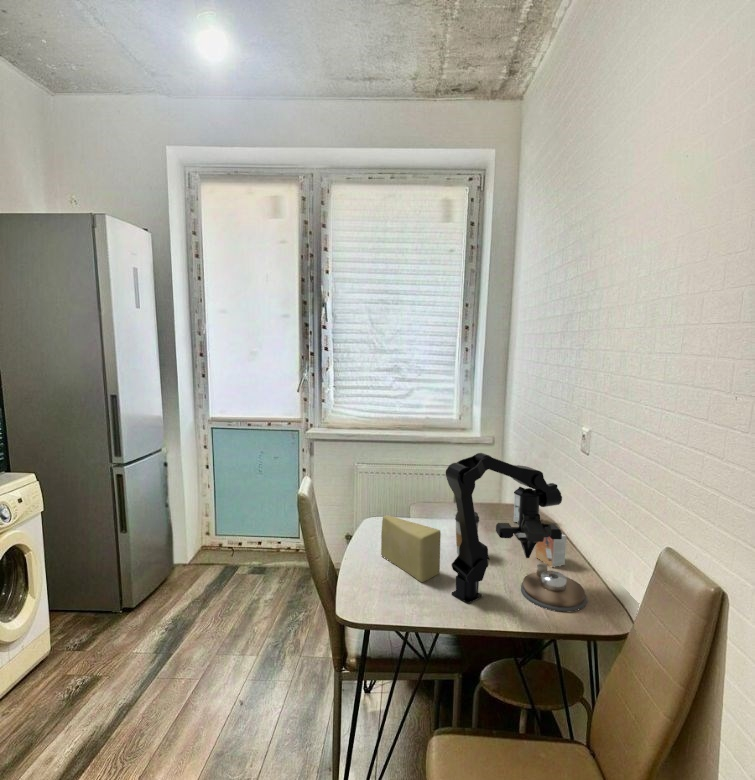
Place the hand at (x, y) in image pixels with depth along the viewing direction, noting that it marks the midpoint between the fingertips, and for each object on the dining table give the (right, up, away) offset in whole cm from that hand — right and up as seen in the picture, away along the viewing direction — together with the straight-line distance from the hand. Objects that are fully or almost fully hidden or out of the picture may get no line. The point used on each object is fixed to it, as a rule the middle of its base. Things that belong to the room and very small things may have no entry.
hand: (527, 557), depth 137 cm
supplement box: (+16, -5, +51) cm, 54 cm away
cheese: (-37, -7, +10) cm, 39 cm away
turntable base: (+6, -9, -6) cm, 12 cm away
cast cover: (+6, -6, -6) cm, 10 cm away
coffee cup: (-15, -7, +20) cm, 26 cm away
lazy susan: (+6, -8, -6) cm, 11 cm away
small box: (+13, -7, +15) cm, 21 cm away
